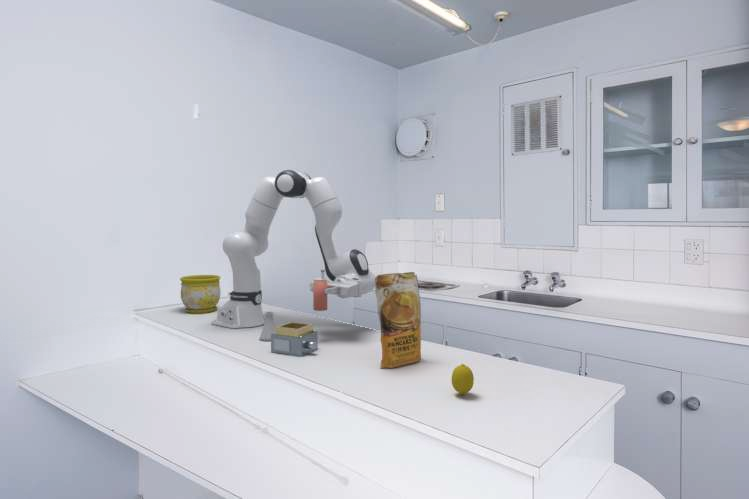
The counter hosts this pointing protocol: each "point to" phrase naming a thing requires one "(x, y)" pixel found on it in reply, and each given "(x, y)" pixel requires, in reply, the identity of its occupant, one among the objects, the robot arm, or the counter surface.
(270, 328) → the flask
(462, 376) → the lemon
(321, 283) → the spout can
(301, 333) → the box
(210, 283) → the flowerpot
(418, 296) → the pancake mix bag
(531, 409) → the counter surface
